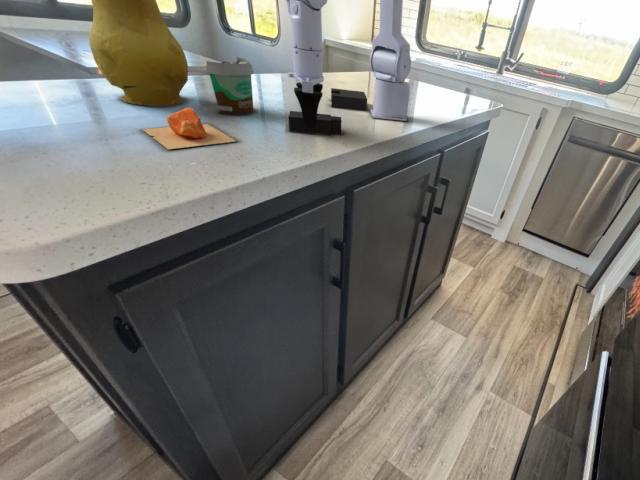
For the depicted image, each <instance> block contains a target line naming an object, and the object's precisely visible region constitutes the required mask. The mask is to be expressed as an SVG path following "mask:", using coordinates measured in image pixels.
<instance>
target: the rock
mask: <svg viewBox="0 0 640 480" xmlns="http://www.w3.org/2000/svg"><path fill="white" fill-rule="evenodd" d="M166 120H167V123H168V126H166V127H154V128H142V129H141V130H142V131H143V132H144V133H146V134H147V135H149V136H150V137H152V139H154V140H155V141H156V142H157V143H159V144H160V145H162V146H163V147H165V149H167V150H174V149H175V150H177V149H184V148H190V147H191V148H192V147H200V146H208V145H217V144H226V143H232V142H236V140H235V139H234V138H232V137H231V136H229V135H227V134H225V133H223V131H220V130H218V129H217V128H215V127H214V126H212V125H211V124H208V123H202V121H201V118H200V117H199V115H198V114H197V112H196V111H195V109H194V108H192V107H184V108H183V109H180V110H179V111H175V112H171V113H170V114H168V116H167V119H166Z"/></svg>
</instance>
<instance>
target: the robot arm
mask: <svg viewBox="0 0 640 480" xmlns="http://www.w3.org/2000/svg"><path fill="white" fill-rule="evenodd" d="M327 3H328V0H286V5H287V12H288V14H289V16H290V29H291V31H290V32H291V43H292V44H291V46H292V60H293V61H292V62H293V71H288V74H287V75H288V78H293V79H295V80H296V81H298V82H296V83H295V85H296V87H293V92H294V95H295V97H296V99H297V102H298V104H299V106H300V110H301V112H302V115H303V120H304V124H305V127H313V128H315V126H316V119H317V114H318V111H319V110H318V109H319V105H320V102H321V99H322V97H323V93H324V92H322V91H323V88H324V84H323V82H324V80H325V77H324V75H323V74H324V73H323V71H324V70H323V31H322V30H323V29H322V28H323V26H322V24H323V23H322V22H323V21H322V20H323V19H322V8H324V7H325V5H327ZM403 3H404V0H379V33H378V34H377V35H375V37H374V38H373V39H372V40H371V52H370V56H369V67H370V70H371V72H372V73H373V75H372V76H373V77H374V94H373V108H370V114H371V116H372V118H373V119H384V120H390V121H391V120H392V121H403V122H407V121H408V118H407V116H408V111H409V110H408V109H409V103H410V94H411V93H410V90H411V89H410V83H409V82H408V81H405V80H406V79H408V76H409V75H410V72H411V69H412V59H411V58H412V57H411V45H410V43H409V42H408V41H407V39H406V38H405V36H404V35H403V34H402V24H403V23H402V21H403Z"/></svg>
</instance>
